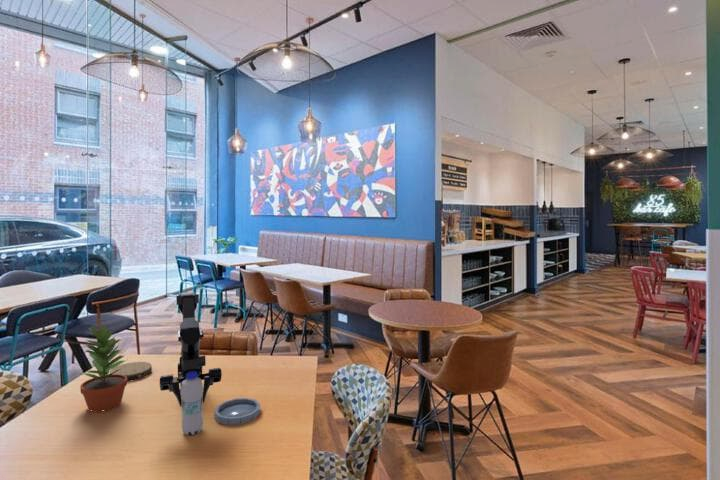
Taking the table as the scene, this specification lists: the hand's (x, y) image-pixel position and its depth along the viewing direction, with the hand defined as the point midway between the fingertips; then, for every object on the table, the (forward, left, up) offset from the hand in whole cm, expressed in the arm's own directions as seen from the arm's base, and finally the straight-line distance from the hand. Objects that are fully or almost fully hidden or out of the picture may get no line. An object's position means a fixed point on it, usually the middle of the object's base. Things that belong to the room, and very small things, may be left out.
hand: (192, 404), depth 127 cm
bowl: (+5, +16, -10) cm, 19 cm away
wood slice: (-61, +27, -10) cm, 67 cm away
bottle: (-1, +1, -10) cm, 10 cm away
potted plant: (-44, +3, -10) cm, 45 cm away
